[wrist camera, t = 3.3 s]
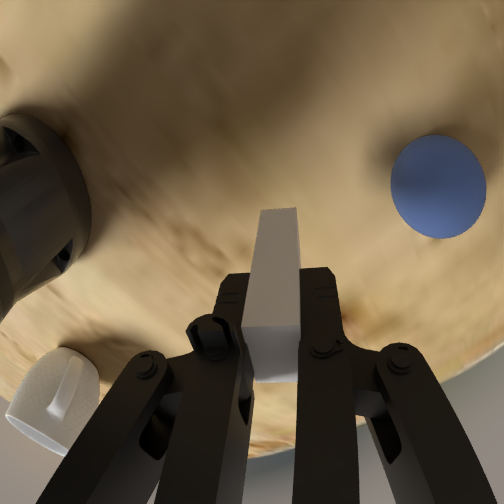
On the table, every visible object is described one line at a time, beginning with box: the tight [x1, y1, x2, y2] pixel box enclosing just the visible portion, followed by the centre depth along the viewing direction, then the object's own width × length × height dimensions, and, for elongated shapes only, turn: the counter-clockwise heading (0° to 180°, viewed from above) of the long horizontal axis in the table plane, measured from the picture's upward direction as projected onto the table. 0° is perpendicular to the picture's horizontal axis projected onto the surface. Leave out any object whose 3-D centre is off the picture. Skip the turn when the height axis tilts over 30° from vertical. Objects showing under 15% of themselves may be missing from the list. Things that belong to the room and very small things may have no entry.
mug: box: [5, 347, 100, 457], centre depth 30 cm, size 15×11×13 cm
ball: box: [391, 135, 486, 239], centre depth 15 cm, size 6×6×6 cm
